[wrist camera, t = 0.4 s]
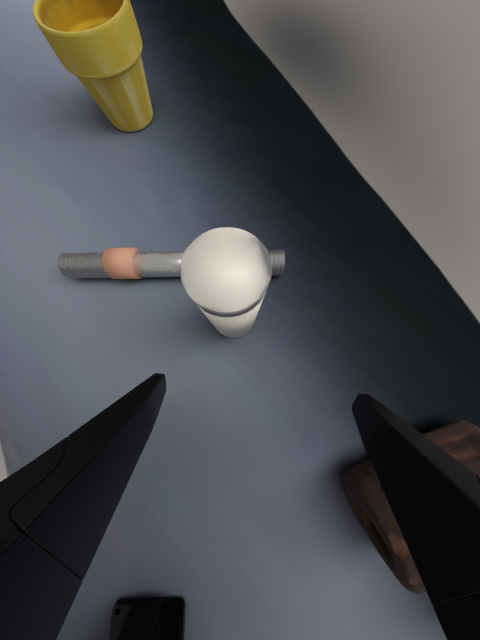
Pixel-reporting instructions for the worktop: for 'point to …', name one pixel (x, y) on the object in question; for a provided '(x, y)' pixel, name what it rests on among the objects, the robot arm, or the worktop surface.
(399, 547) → the dark brown lump
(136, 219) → the worktop surface
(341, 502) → the worktop surface
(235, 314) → the white grey cylinder
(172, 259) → the grey steel rod
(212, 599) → the worktop surface
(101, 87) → the plant pot
